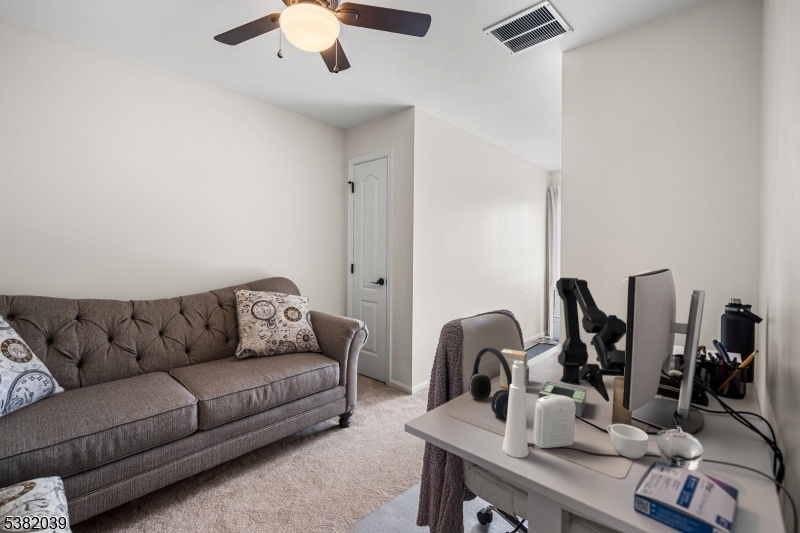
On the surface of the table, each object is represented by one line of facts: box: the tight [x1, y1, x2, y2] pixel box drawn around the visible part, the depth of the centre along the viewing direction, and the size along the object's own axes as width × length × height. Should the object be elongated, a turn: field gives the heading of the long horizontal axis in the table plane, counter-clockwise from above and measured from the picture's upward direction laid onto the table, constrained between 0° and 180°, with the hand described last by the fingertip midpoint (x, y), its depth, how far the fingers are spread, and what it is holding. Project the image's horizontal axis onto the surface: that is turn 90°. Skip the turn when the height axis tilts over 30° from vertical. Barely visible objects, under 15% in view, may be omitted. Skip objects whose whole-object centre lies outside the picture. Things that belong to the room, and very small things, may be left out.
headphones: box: [468, 347, 512, 419], centre depth 109 cm, size 20×7×18 cm, turn 18°
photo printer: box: [532, 395, 576, 449], centre depth 89 cm, size 10×4×12 cm, turn 103°
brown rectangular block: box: [611, 376, 633, 426], centre depth 100 cm, size 5×5×13 cm
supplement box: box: [499, 348, 528, 390], centre depth 126 cm, size 8×5×13 cm, turn 58°
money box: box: [538, 381, 587, 419], centre depth 112 cm, size 12×12×4 cm
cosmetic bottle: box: [501, 360, 529, 459], centre depth 85 cm, size 6×6×22 cm
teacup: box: [606, 424, 649, 460], centre depth 87 cm, size 10×8×5 cm
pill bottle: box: [526, 364, 530, 385], centre depth 131 cm, size 5×5×9 cm
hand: (625, 401), depth 99 cm, fingers open, 9 cm apart
